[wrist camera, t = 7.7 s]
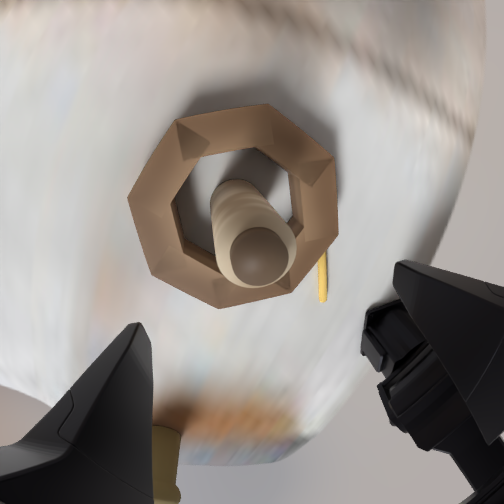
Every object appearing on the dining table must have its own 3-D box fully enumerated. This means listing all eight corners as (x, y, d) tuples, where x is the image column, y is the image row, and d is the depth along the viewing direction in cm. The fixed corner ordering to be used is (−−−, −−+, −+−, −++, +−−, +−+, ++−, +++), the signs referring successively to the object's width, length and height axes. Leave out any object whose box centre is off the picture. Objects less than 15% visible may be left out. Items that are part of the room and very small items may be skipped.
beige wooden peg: (257, 174, 19) (298, 211, 11) (264, 223, 20) (304, 287, 13) (205, 184, 19) (208, 229, 11) (215, 233, 20) (226, 305, 12)
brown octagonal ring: (312, 102, 17) (327, 99, 15) (326, 265, 23) (338, 280, 21) (123, 135, 16) (113, 137, 14) (170, 300, 22) (168, 319, 20)
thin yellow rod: (322, 216, 21) (326, 219, 20) (325, 298, 24) (328, 302, 24) (313, 218, 21) (317, 221, 20) (317, 300, 24) (320, 304, 24)
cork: (185, 443, 32) (190, 510, 22) (146, 444, 31) (145, 508, 22) (174, 424, 30) (177, 500, 20) (130, 425, 29) (126, 498, 19)
